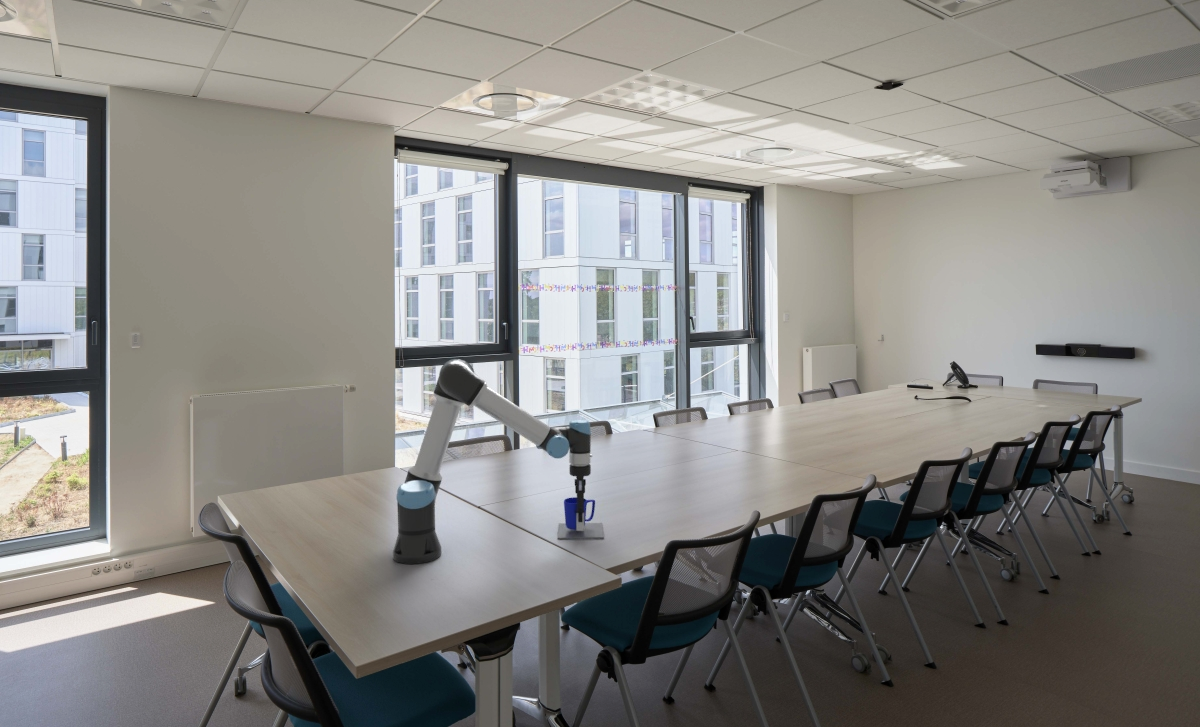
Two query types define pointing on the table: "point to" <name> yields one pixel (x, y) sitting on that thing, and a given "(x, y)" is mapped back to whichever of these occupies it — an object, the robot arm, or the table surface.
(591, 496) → the table surface
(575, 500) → the mug
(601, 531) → the coaster
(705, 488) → the table surface
